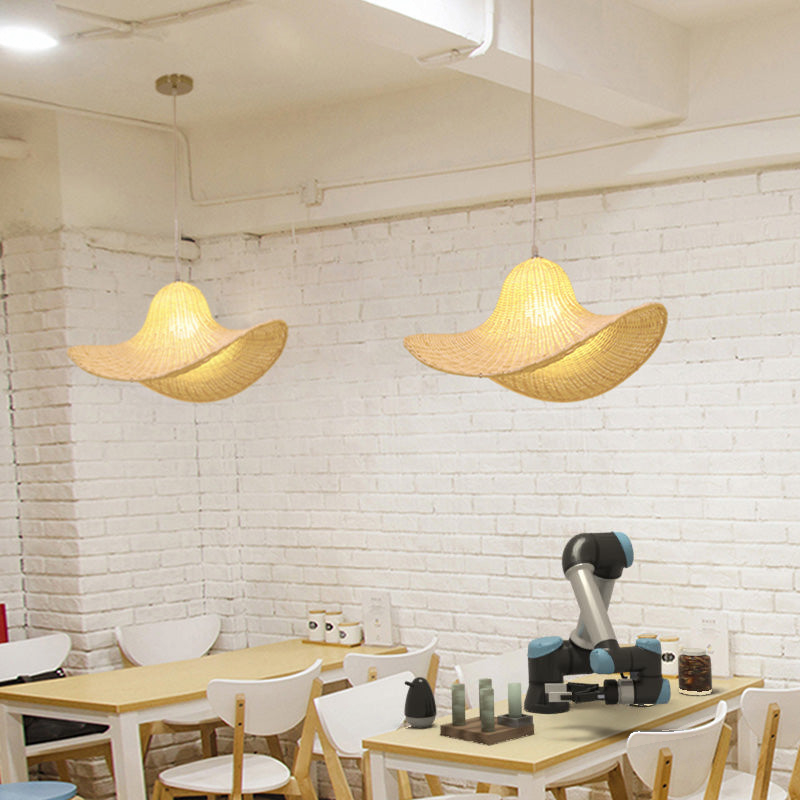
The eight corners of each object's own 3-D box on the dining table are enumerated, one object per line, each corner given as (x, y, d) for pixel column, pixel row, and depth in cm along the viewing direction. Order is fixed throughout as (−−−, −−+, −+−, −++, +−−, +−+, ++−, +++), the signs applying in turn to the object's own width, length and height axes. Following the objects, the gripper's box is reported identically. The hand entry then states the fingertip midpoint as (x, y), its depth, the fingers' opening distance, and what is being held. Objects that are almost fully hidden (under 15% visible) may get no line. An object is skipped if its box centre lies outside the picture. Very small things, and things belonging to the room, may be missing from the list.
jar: (719, 693, 412) (718, 650, 413) (696, 697, 406) (694, 653, 407) (695, 688, 422) (693, 646, 423) (671, 692, 416) (670, 649, 417)
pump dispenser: (398, 725, 371) (397, 676, 372) (427, 721, 375) (426, 673, 376) (413, 731, 362) (412, 681, 363) (442, 727, 366) (441, 677, 367)
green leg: (506, 723, 355) (505, 683, 356) (517, 722, 357) (516, 682, 357) (513, 726, 351) (512, 685, 352) (524, 724, 353) (523, 684, 354)
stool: (440, 735, 355) (439, 685, 356) (485, 724, 368) (484, 676, 369) (488, 745, 340) (487, 692, 341) (534, 734, 354) (532, 683, 355)
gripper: (624, 713, 341) (550, 713, 341) (612, 696, 366) (544, 697, 366) (623, 687, 341) (550, 687, 342) (611, 672, 366) (543, 672, 367)
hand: (546, 692), depth 354 cm, fingers open, 13 cm apart
